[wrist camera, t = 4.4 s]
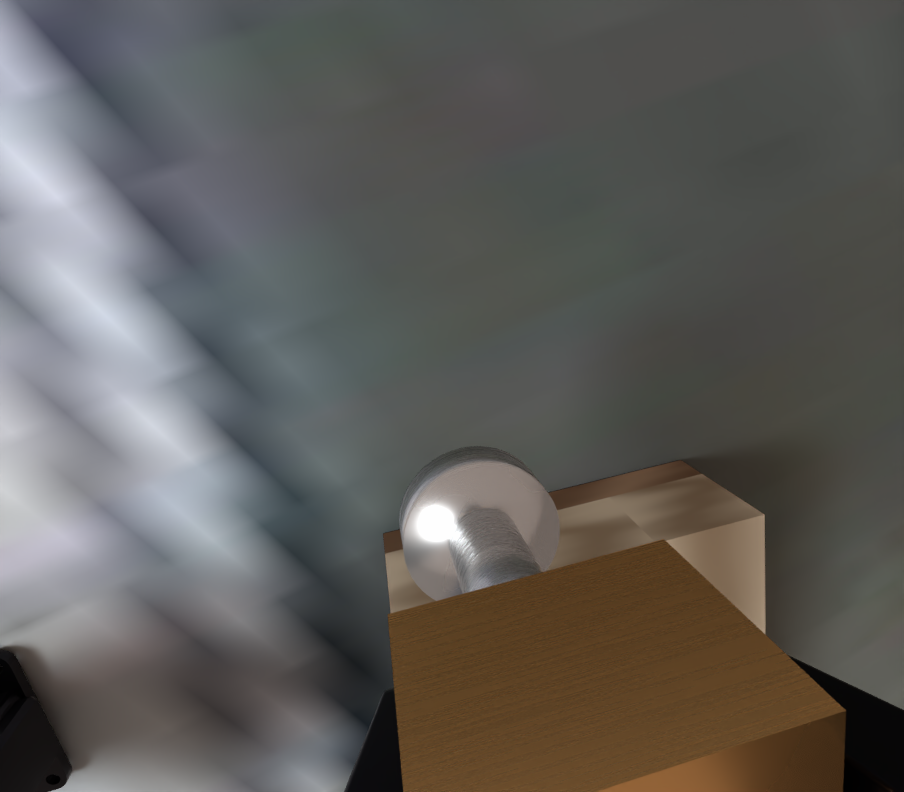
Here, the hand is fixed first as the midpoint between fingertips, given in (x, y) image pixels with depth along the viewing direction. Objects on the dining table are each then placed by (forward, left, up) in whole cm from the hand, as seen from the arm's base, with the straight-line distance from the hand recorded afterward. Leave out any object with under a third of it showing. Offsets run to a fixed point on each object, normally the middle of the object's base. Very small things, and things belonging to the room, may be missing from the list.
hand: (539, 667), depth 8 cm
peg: (0, 0, -5) cm, 5 cm away
